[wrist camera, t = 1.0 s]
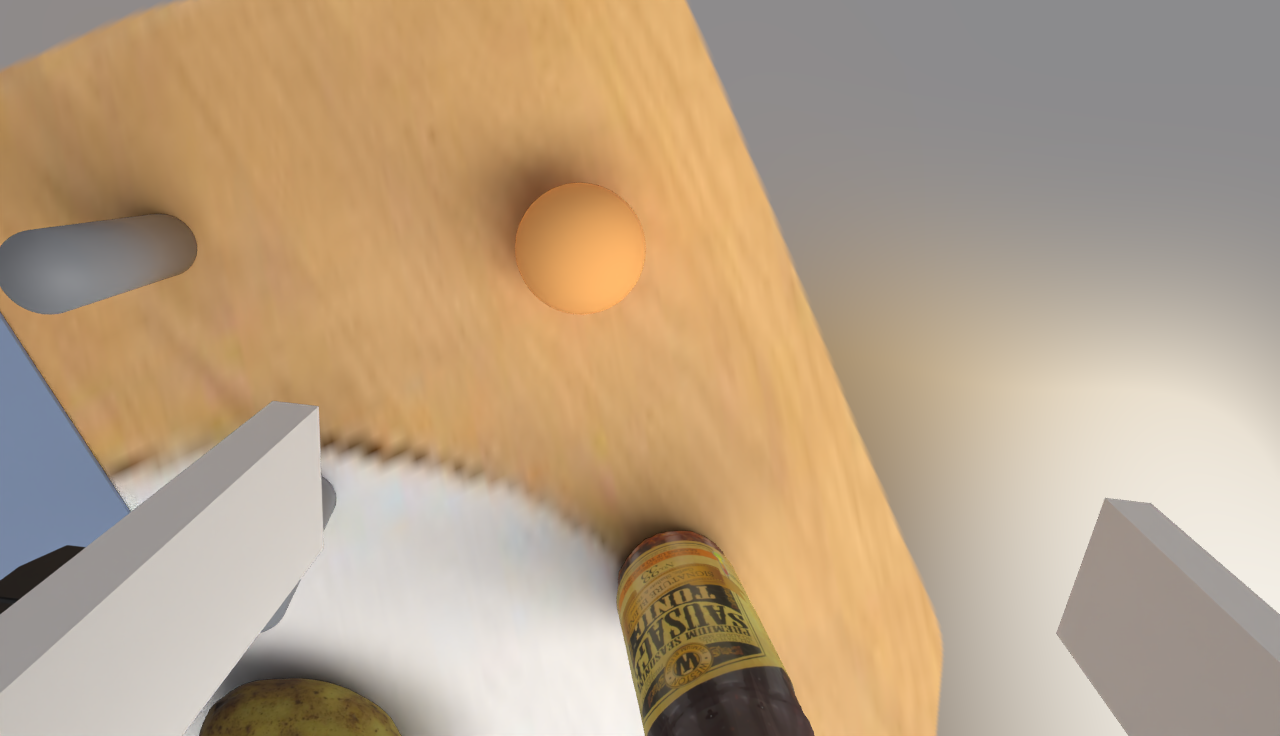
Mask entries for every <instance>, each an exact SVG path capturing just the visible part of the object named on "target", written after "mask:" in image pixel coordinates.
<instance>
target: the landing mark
mask: <svg viewBox="0 0 1280 736" xmlns="http://www.w3.org/2000/svg"><path fill="white" fill-rule="evenodd" d="M129 513H130V511H129V509H128V508H127V506H126V504H125V503H124V501H123V500H122V498H121V497H120V495H119V494H118V492H117V491H116V489H115V488H114V486H113V484H112V483H111V481H110V480H109V478H108V477H107V475H106V474H105V472H104V471H103V469H102V468H101V466H100V464H99V463H98V461H97V460H96V458H95V457H94V455H93V454H92V452H91V451H90V449H89V448H88V446H87V445H86V443H85V441H84V440H83V438H82V437H81V435H80V434H79V432H78V431H77V429H76V428H75V426H74V425H73V423H72V421H71V420H70V418H69V417H68V415H67V414H66V412H65V411H64V409H63V408H62V406H61V405H60V403H59V401H58V400H57V398H56V397H55V395H54V394H53V392H52V391H51V389H50V388H49V386H48V385H47V383H46V382H45V380H44V378H43V377H42V375H41V374H40V372H39V371H38V369H37V368H36V366H35V365H34V363H33V362H32V360H31V358H30V357H29V355H28V354H27V352H26V351H25V349H24V348H23V346H22V345H21V343H20V342H19V340H18V339H17V337H16V335H15V334H14V332H13V331H12V329H11V328H10V326H9V325H8V323H7V322H6V320H5V319H4V317H3V315H2V314H1V312H0V580H1V579H3V578H4V577H5V576H7V575H8V574H10V573H11V572H12V571H14V570H15V569H16V568H18V567H19V566H21V565H24V564H26V563H28V562H30V561H33V560H35V559H37V558H39V557H41V556H44V555H46V554H48V553H50V552H53V551H55V550H57V549H59V548H61V547H64V546H66V545H71V546H80V547H87V546H88V545H90V544H91V543H92V542H93V541H95V540H96V539H97V538H98V537H100V536H101V535H102V534H104V533H105V532H106V531H107V530H109V529H110V528H111V527H113V526H114V525H115V524H116V523H118V522H119V521H120V520H121V519H123V518H124V517H125V516H127V515H128V514H129Z"/></svg>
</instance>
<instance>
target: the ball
mask: <svg viewBox="0 0 1280 736" xmlns="http://www.w3.org/2000/svg"><path fill="white" fill-rule="evenodd" d="M645 252H646V249H645V238H644V233H643V229H642V226H641V224H640V222H639V219H638V217H637V216H636V214H635V213H634V211H633V210H632V208H631V207H630V206H629V205H628V204H627V203H626V202H625V201H624V200H623V199H622V198H621V197H619V196H618V195H617V194H615V193H614V192H612V191H610V190H608V189H606V188H604V187H601V186H599V185H594V184H590V183H570V184H565V185H561V186H558V187H555V188H553V189H551V190H549V191H547V192H546V193H544V194H543V195H541V196H540V197H539V198H538V199H537V200H535V201H534V202H533V203H532V205H531V206H530V207H529V208H528V210H527V211H526V213H525V214H524V216H523V218H522V220H521V222H520V224H519V227H518V230H517V235H516V240H515V255H516V261H517V266H518V269H519V272H520V274H521V276H522V278H523V280H524V282H525V284H526V285H527V286H528V288H529V289H530V290H531V291H532V293H533V294H534V295H535V296H536V297H537V298H538V299H540V300H541V301H542V302H544V303H545V304H547V305H548V306H550V307H552V308H554V309H556V310H559V311H562V312H565V313H570V314H591V313H596V312H600V311H603V310H606V309H608V308H610V307H612V306H614V305H615V304H617V303H618V302H620V301H621V300H622V299H623V298H625V297H626V296H627V295H628V294H629V292H630V291H631V290H632V289H633V287H634V286H635V284H636V283H637V281H638V279H639V277H640V275H641V272H642V269H643V266H644V261H645Z"/></svg>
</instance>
